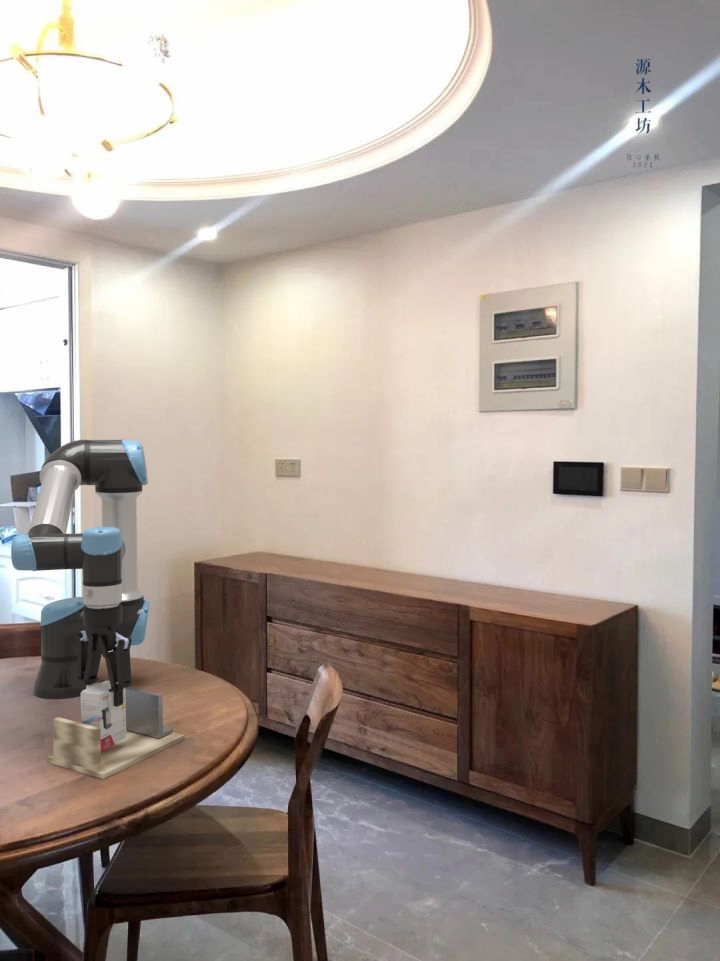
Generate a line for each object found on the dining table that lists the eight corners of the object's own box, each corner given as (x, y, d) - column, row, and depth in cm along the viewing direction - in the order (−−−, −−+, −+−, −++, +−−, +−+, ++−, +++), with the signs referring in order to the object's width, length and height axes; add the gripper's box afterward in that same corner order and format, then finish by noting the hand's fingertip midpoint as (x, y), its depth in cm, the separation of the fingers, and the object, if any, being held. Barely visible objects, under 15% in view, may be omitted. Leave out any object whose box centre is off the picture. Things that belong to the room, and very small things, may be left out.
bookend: (124, 729, 161) (124, 688, 161) (139, 723, 165) (139, 683, 165) (158, 738, 156) (158, 696, 156) (172, 731, 160) (172, 690, 160)
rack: (46, 761, 148) (46, 717, 147) (130, 726, 167) (130, 686, 166) (102, 779, 140) (102, 732, 139) (184, 739, 159) (184, 698, 159)
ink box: (100, 754, 145) (100, 695, 145) (79, 750, 147) (78, 692, 146) (127, 738, 153) (127, 681, 153) (107, 734, 155) (106, 679, 155)
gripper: (55, 603, 150) (57, 716, 151) (121, 613, 141) (122, 733, 142) (86, 597, 157) (87, 705, 158) (150, 606, 148) (151, 720, 149)
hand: (104, 718), depth 150 cm, fingers closed on ink box, 6 cm apart
